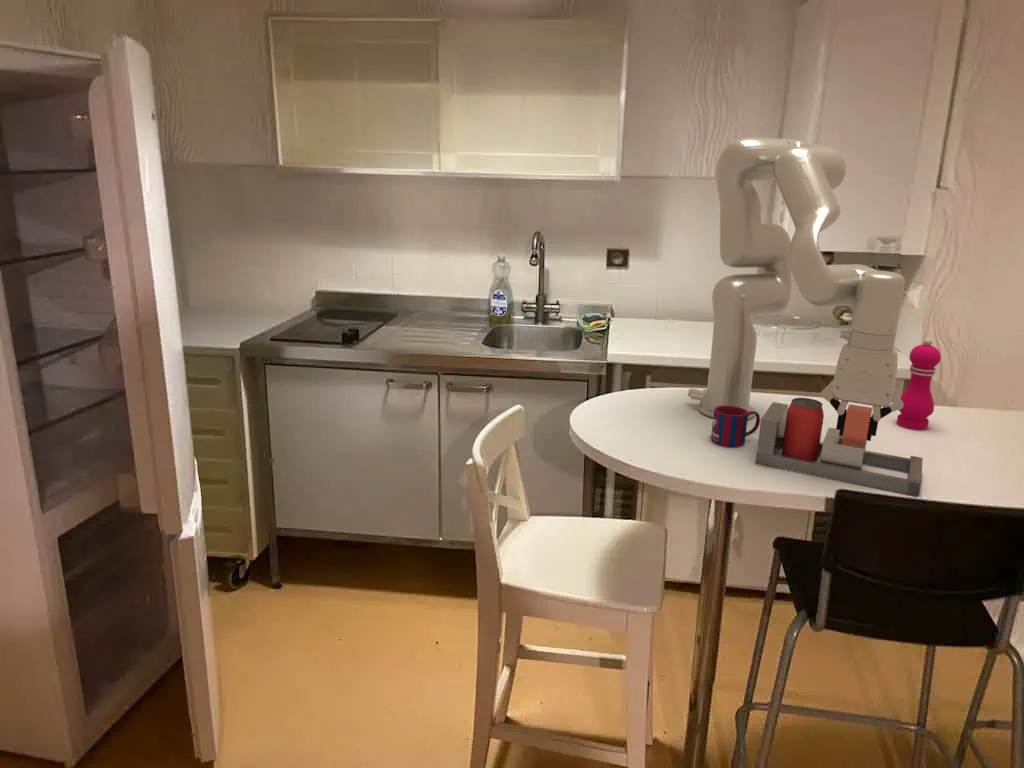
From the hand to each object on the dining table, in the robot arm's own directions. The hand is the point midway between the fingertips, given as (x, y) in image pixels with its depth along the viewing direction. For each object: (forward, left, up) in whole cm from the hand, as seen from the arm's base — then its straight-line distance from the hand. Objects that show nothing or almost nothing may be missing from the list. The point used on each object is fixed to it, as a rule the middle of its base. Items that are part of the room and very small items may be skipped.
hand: (855, 435), depth 143 cm
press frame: (-2, 0, -7) cm, 7 cm away
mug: (-22, +4, -7) cm, 24 cm away
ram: (-2, 0, -7) cm, 7 cm away
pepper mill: (+10, +36, -7) cm, 38 cm away
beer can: (-9, 0, -7) cm, 12 cm away
